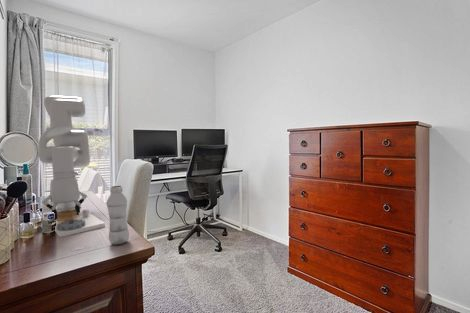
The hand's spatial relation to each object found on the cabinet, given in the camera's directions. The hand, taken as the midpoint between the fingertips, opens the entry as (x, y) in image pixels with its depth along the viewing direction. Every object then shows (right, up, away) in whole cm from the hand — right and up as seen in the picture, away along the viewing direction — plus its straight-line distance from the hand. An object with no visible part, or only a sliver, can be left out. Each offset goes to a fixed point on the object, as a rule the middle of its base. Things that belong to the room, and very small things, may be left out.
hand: (66, 216), depth 111 cm
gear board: (+5, -4, -1) cm, 6 cm away
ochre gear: (0, -1, 0) cm, 1 cm away
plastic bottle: (+32, -5, -21) cm, 38 cm away
